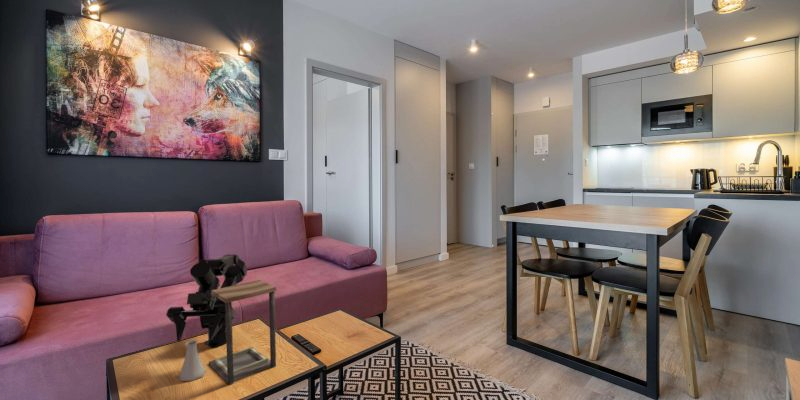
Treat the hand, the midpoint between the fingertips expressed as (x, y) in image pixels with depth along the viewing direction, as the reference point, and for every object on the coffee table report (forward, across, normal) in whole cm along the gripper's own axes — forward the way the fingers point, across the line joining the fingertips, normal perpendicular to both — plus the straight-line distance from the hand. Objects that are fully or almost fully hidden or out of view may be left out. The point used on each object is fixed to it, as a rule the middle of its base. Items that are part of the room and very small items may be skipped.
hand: (194, 340), depth 110 cm
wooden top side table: (+5, +13, +8) cm, 16 cm away
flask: (+9, 0, +6) cm, 10 cm away
